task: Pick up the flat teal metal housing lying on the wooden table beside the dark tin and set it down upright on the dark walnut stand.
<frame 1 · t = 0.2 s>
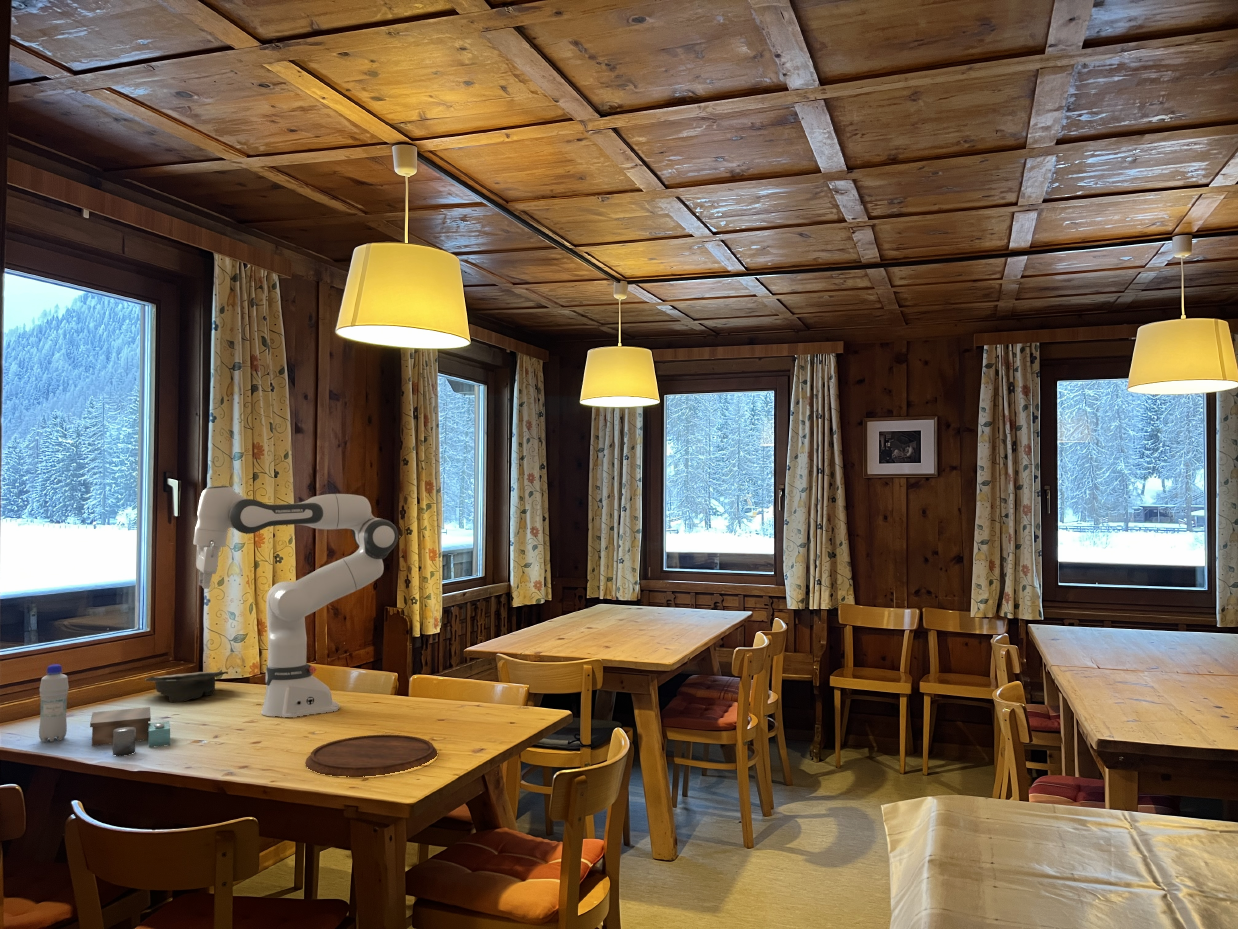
hand: (203, 587, 266), 39 cm above the table, tool pointing down, fingers open, 8 cm apart
cutting board: (372, 761, 227), on the table
tin: (124, 753, 230), on the table
stand: (120, 737, 245), on the table
bottle: (52, 740, 242), on the table
stone bowl: (185, 697, 297), on the table
housing: (158, 743, 241), on the table
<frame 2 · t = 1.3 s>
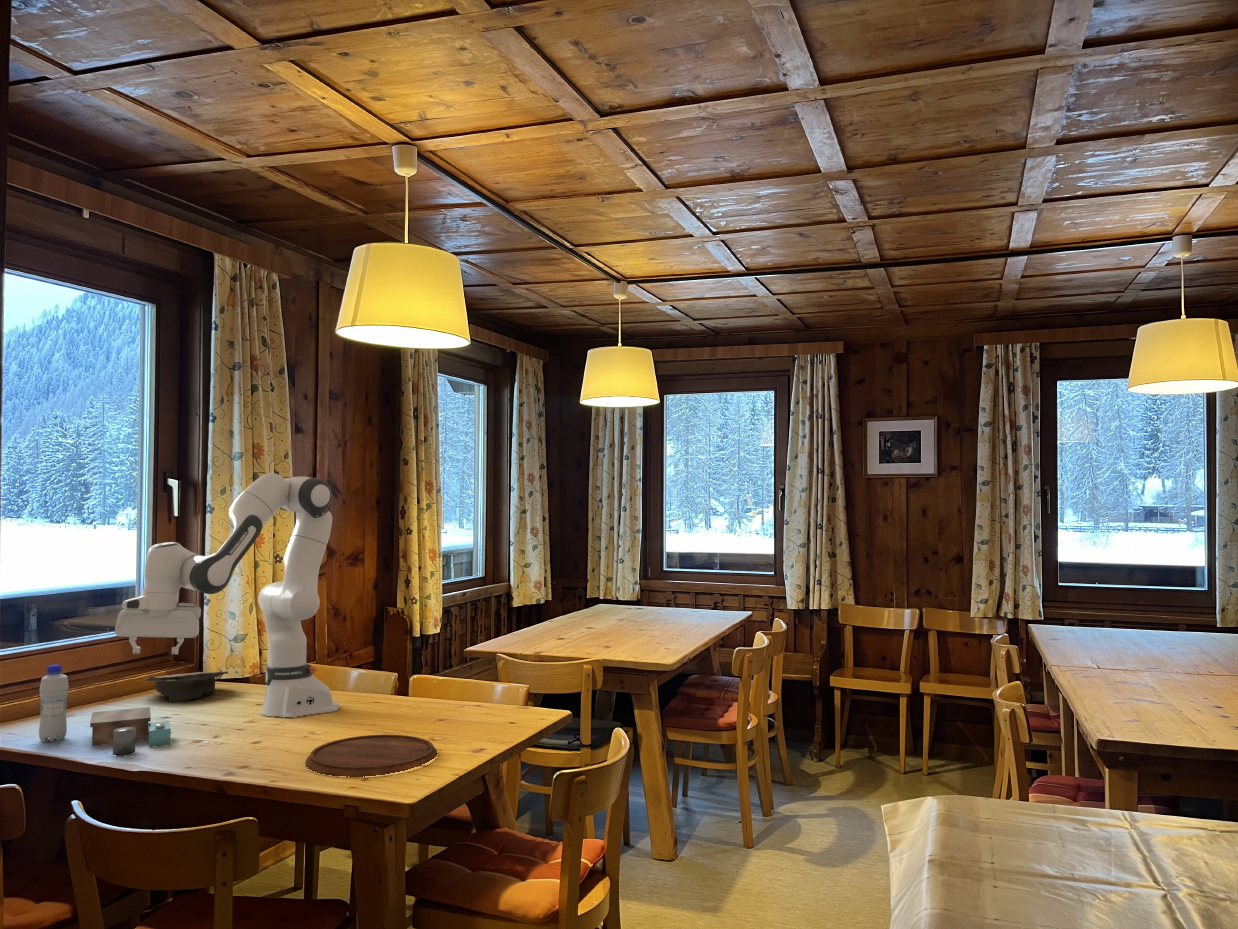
hand: (155, 654, 244), 23 cm above the table, tool pointing down, fingers open, 8 cm apart
nothing on the table moved.
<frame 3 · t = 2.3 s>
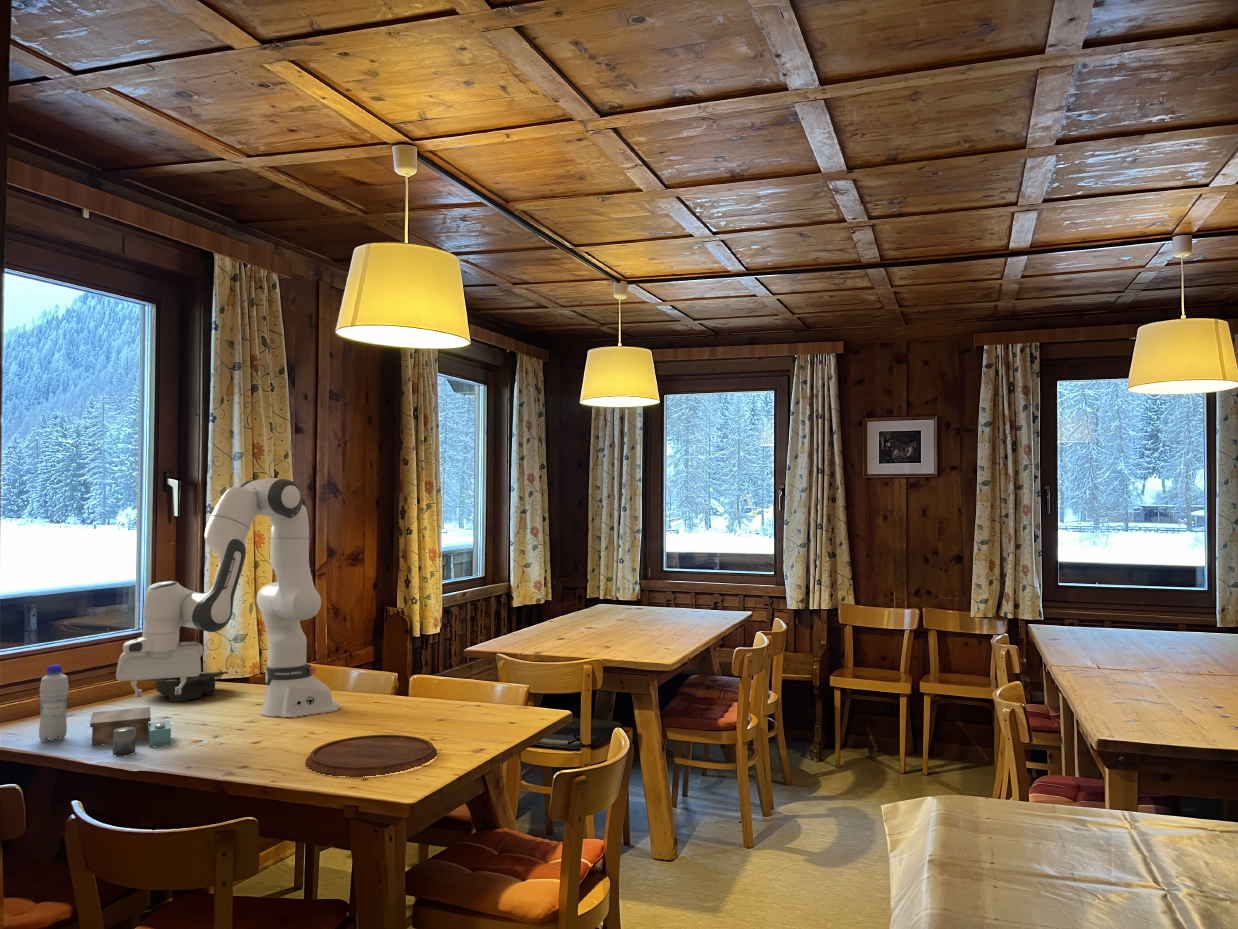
hand: (158, 695, 241), 12 cm above the table, tool pointing down, fingers open, 8 cm apart
nothing on the table moved.
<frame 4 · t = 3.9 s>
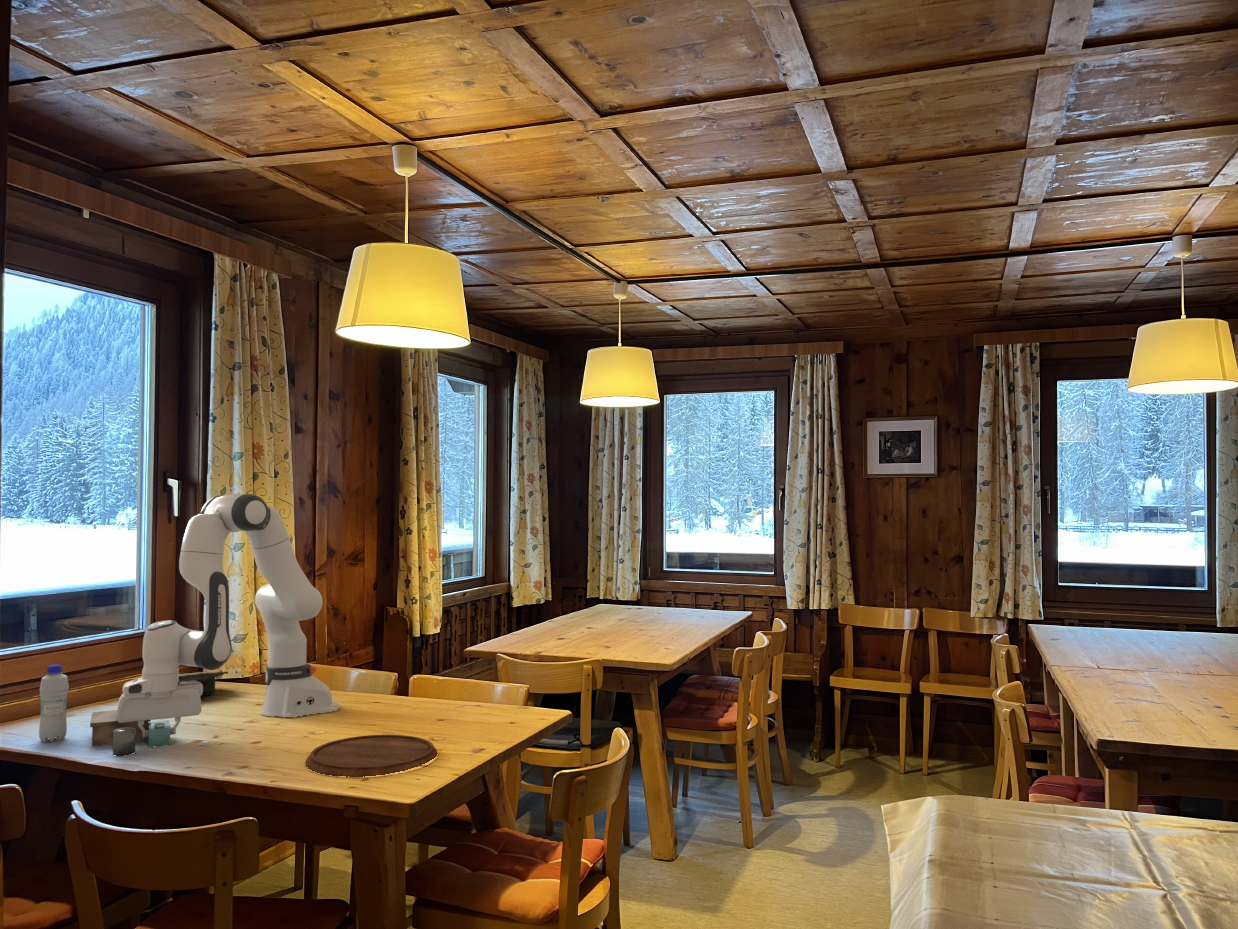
hand: (159, 735, 241), 2 cm above the table, tool pointing down, fingers closed on housing, 5 cm apart
housing: (158, 742, 241), on the table, touching gripper
everything else where it was.
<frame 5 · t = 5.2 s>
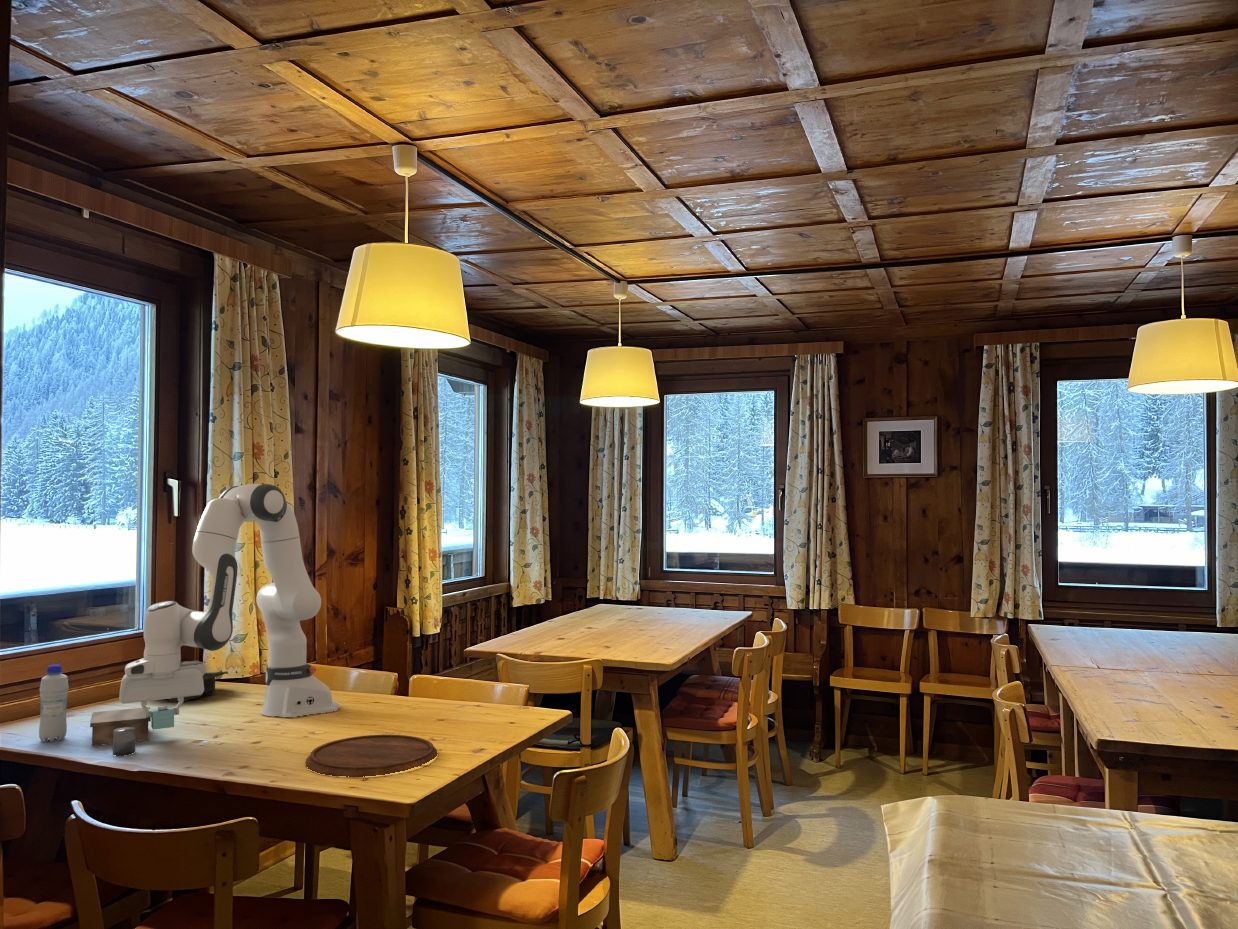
hand: (162, 715, 242), 7 cm above the table, tool pointing down, fingers closed on housing, 5 cm apart
housing: (162, 726, 241), point 4 cm above the table, tilted 7°, touching gripper
everything else where it was.
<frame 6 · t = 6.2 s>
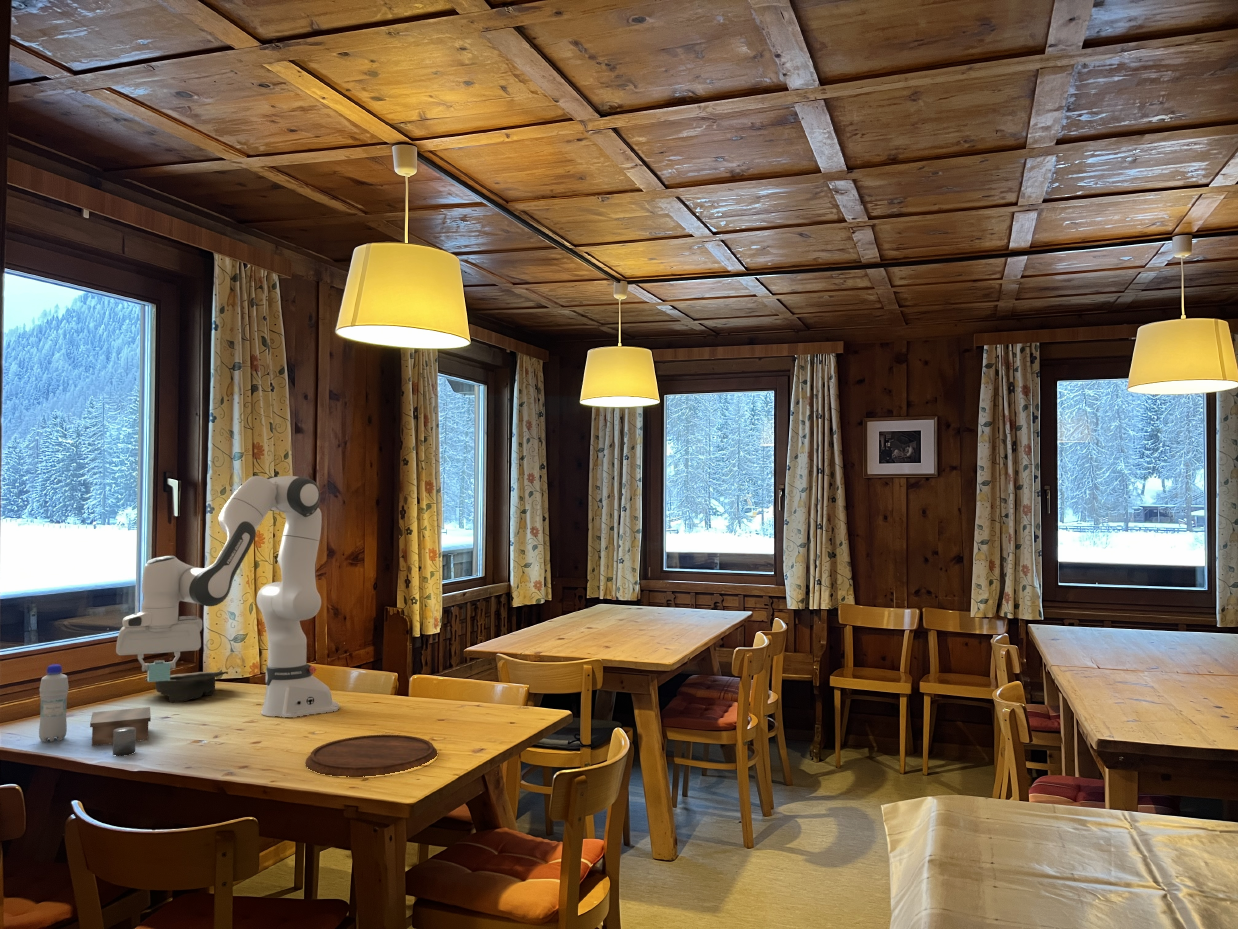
hand: (158, 669, 242), 19 cm above the table, tool pointing down, fingers closed on housing, 5 cm apart
housing: (158, 680, 241), point 16 cm above the table, tilted 8°, touching gripper
everything else where it was.
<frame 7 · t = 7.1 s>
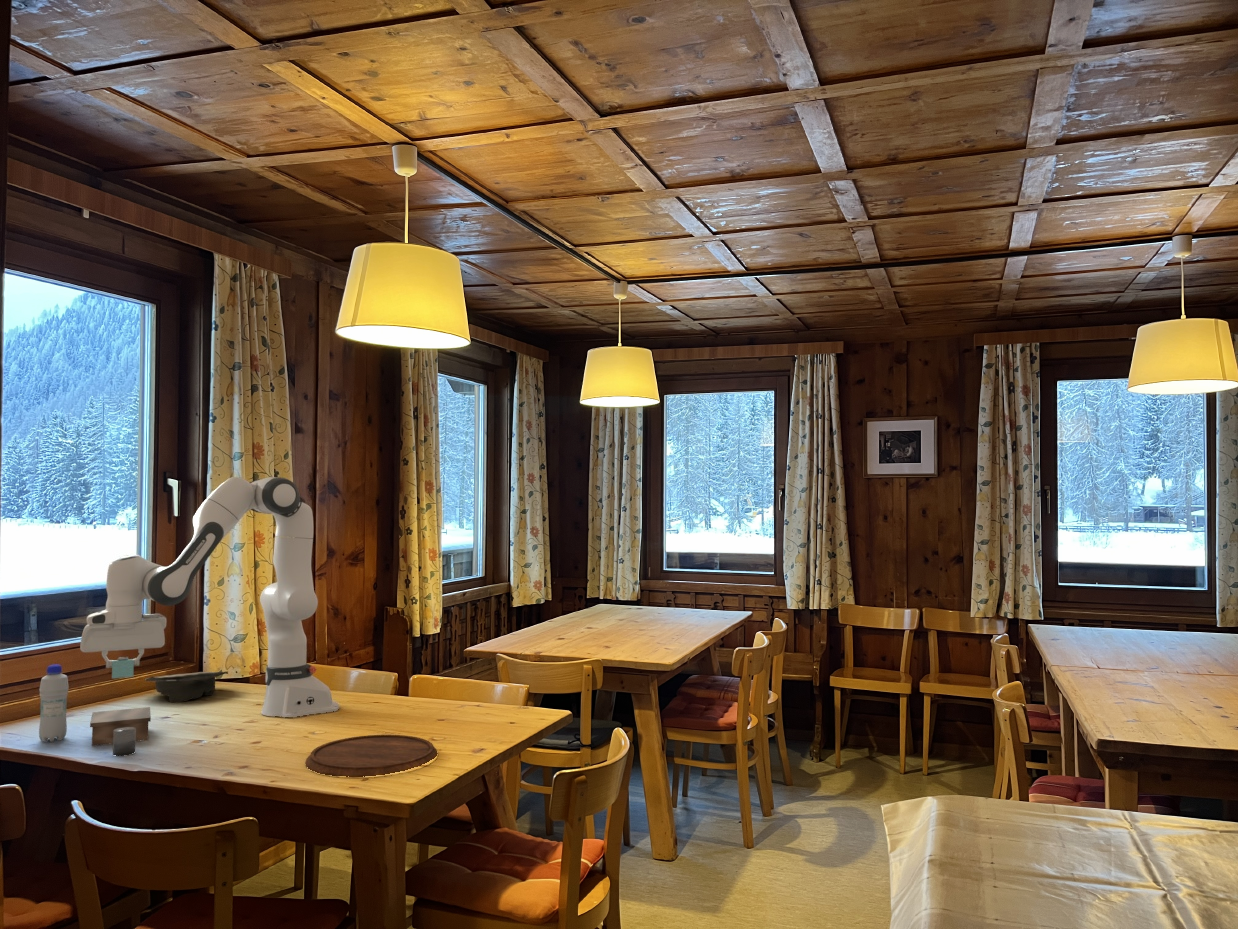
hand: (122, 666, 246), 19 cm above the table, tool pointing down, fingers closed on housing, 5 cm apart
housing: (122, 677, 246), point 16 cm above the table, tilted 8°, touching gripper
everything else where it was.
when the fingers open (9 cm above the table, at t = 9.8 s): housing stays where it is, resting on stand.
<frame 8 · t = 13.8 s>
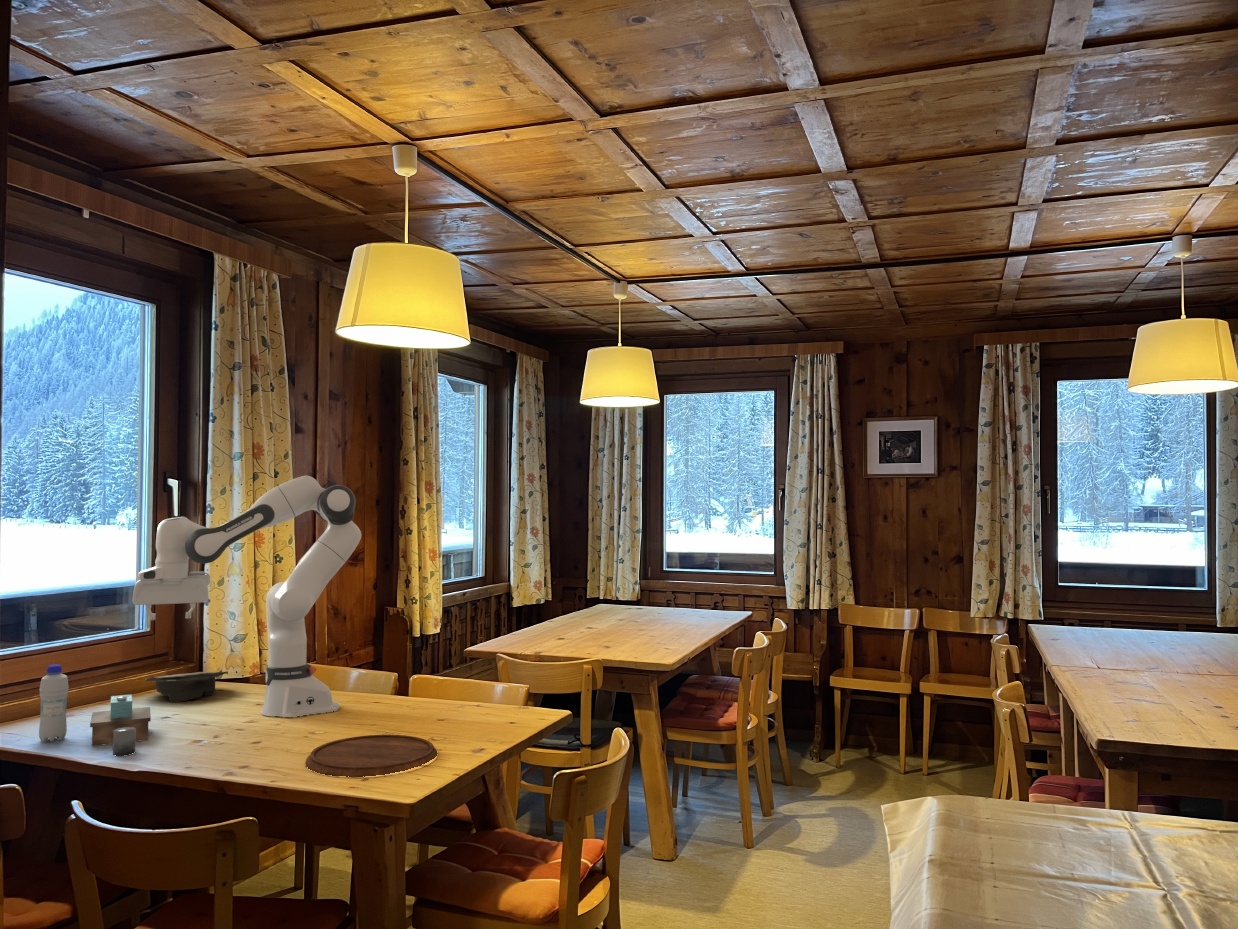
hand: (170, 619, 267), 29 cm above the table, tool pointing down, fingers open, 8 cm apart
housing: (121, 715, 245), point 6 cm above the table, touching stand
everything else where it was.
at the end: housing inside the target area on the stand (0.5 cm from its centre), point 6.0 cm above the stand's base; housing tilted 0°; housing touching stand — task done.
